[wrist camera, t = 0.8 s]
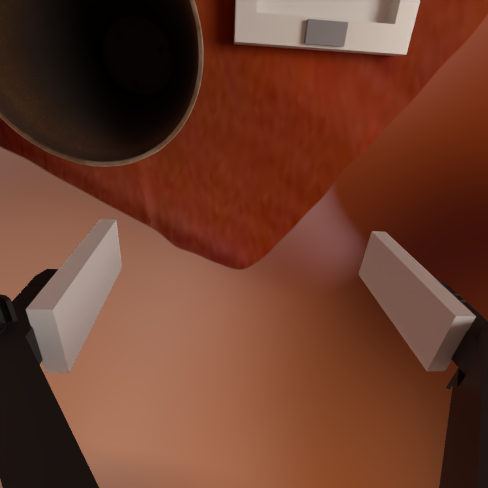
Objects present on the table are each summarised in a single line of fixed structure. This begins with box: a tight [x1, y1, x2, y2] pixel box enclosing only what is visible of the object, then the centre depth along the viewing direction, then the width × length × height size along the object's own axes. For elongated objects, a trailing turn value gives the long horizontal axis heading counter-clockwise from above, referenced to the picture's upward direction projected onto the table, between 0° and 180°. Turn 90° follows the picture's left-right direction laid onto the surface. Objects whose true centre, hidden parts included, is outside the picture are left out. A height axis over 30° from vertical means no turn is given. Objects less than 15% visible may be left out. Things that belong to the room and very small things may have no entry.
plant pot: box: [0, 0, 203, 167], centre depth 26 cm, size 15×15×16 cm
